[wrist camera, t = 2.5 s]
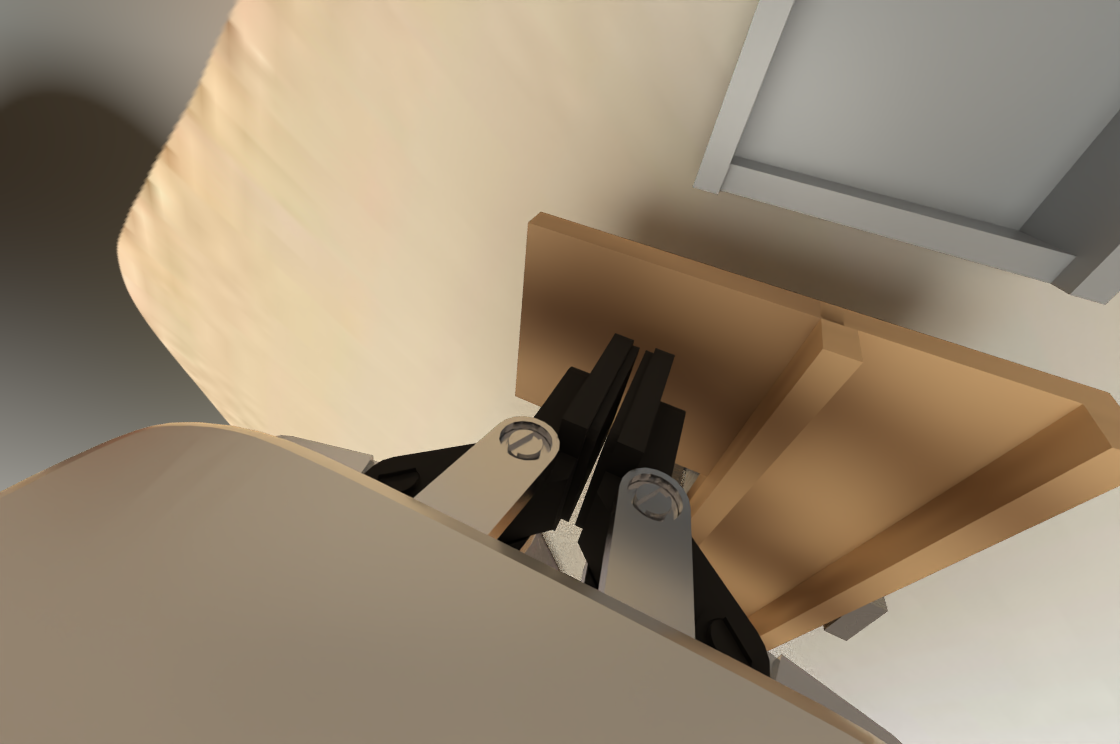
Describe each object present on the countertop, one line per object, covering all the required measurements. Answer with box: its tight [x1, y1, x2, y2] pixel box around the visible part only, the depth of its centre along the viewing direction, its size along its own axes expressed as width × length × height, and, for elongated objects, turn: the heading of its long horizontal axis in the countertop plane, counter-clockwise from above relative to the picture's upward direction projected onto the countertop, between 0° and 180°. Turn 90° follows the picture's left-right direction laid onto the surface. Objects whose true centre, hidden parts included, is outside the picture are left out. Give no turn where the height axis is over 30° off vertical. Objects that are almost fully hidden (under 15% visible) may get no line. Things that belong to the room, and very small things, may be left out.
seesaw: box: [515, 212, 1120, 651], centre depth 18 cm, size 22×14×4 cm, turn 168°
